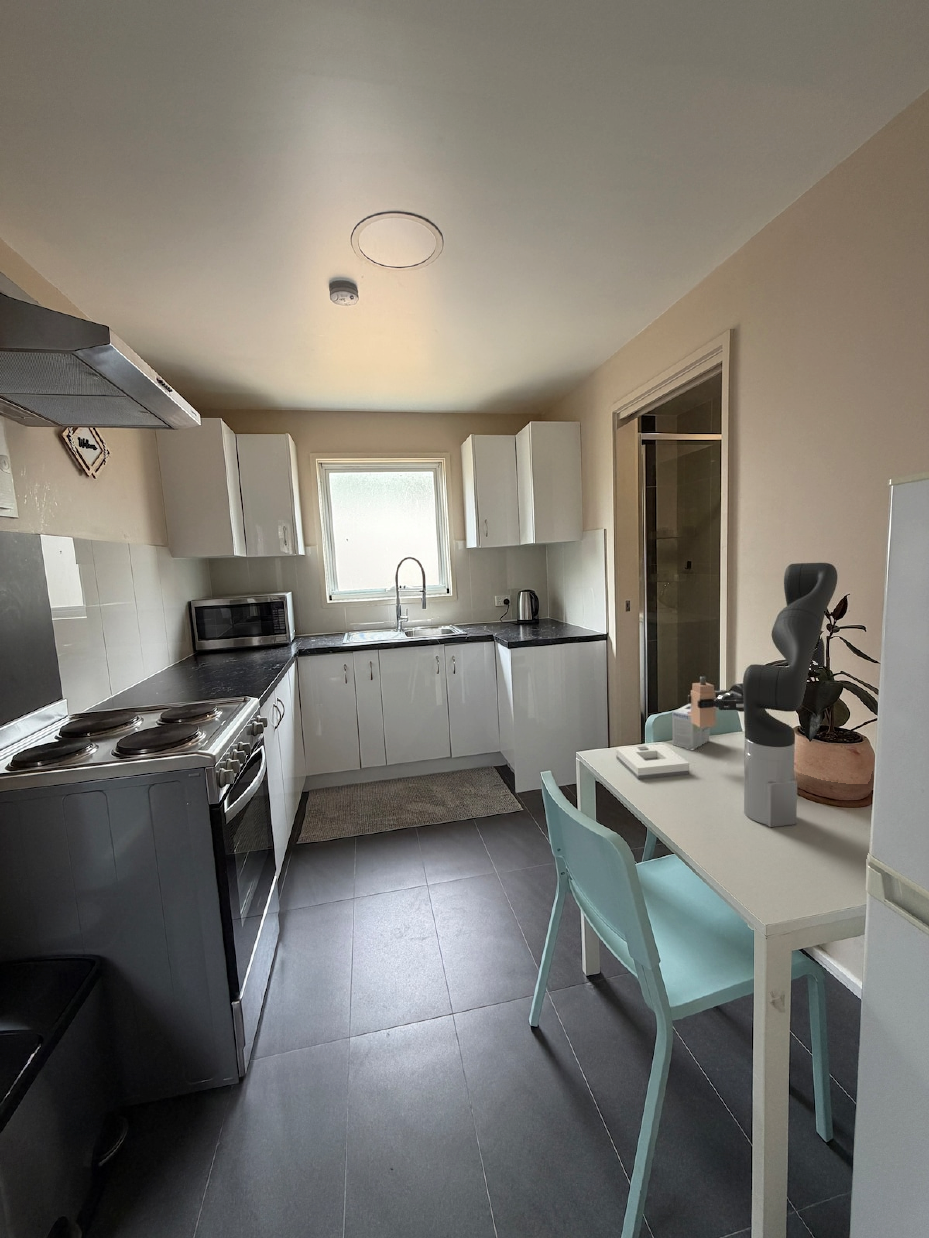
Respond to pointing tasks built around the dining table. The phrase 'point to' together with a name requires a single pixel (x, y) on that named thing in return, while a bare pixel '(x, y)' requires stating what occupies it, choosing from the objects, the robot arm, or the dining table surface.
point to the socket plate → (652, 761)
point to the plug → (702, 715)
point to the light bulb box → (687, 729)
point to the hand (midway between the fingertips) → (693, 701)
